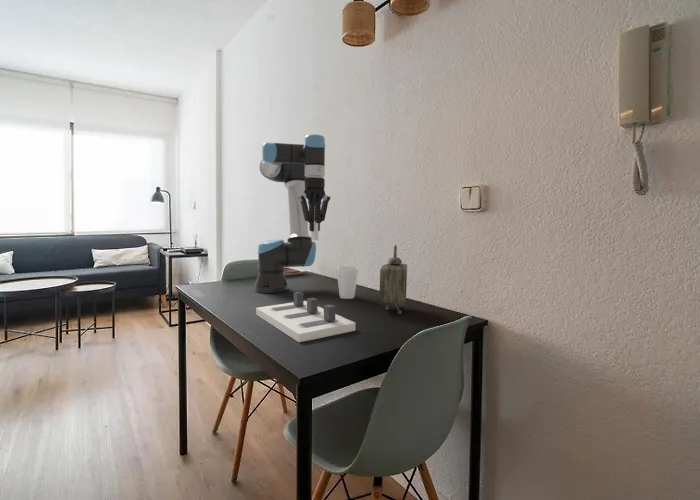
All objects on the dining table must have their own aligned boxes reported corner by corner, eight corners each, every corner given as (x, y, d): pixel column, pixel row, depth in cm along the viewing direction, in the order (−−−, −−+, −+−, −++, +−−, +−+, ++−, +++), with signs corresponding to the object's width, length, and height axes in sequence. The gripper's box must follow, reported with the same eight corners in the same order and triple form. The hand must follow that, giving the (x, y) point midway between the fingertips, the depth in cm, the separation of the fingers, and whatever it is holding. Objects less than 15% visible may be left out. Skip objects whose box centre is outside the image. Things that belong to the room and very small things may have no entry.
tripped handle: (307, 311, 132) (307, 298, 131) (313, 310, 133) (313, 297, 133) (311, 313, 129) (311, 300, 129) (317, 312, 131) (317, 299, 130)
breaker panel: (256, 314, 138) (256, 307, 138) (305, 306, 149) (305, 300, 149) (298, 342, 110) (298, 333, 110) (355, 330, 121) (355, 322, 121)
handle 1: (293, 304, 141) (293, 292, 141) (299, 303, 142) (299, 291, 142) (297, 306, 139) (297, 294, 138) (303, 305, 140) (303, 293, 139)
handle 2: (323, 319, 123) (323, 305, 122) (330, 317, 124) (330, 304, 124) (328, 321, 121) (328, 307, 120) (335, 320, 122) (335, 306, 121)
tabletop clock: (403, 316, 138) (405, 247, 135) (378, 314, 140) (380, 246, 137) (405, 306, 152) (407, 243, 149) (383, 304, 154) (384, 243, 151)
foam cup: (350, 300, 160) (350, 270, 158) (332, 297, 164) (332, 268, 163) (361, 296, 168) (362, 267, 166) (343, 293, 173) (344, 265, 171)
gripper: (303, 175, 137) (304, 241, 139) (334, 177, 144) (334, 239, 147) (294, 177, 143) (294, 239, 146) (324, 178, 150) (324, 238, 153)
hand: (314, 239), depth 146 cm, fingers closed
